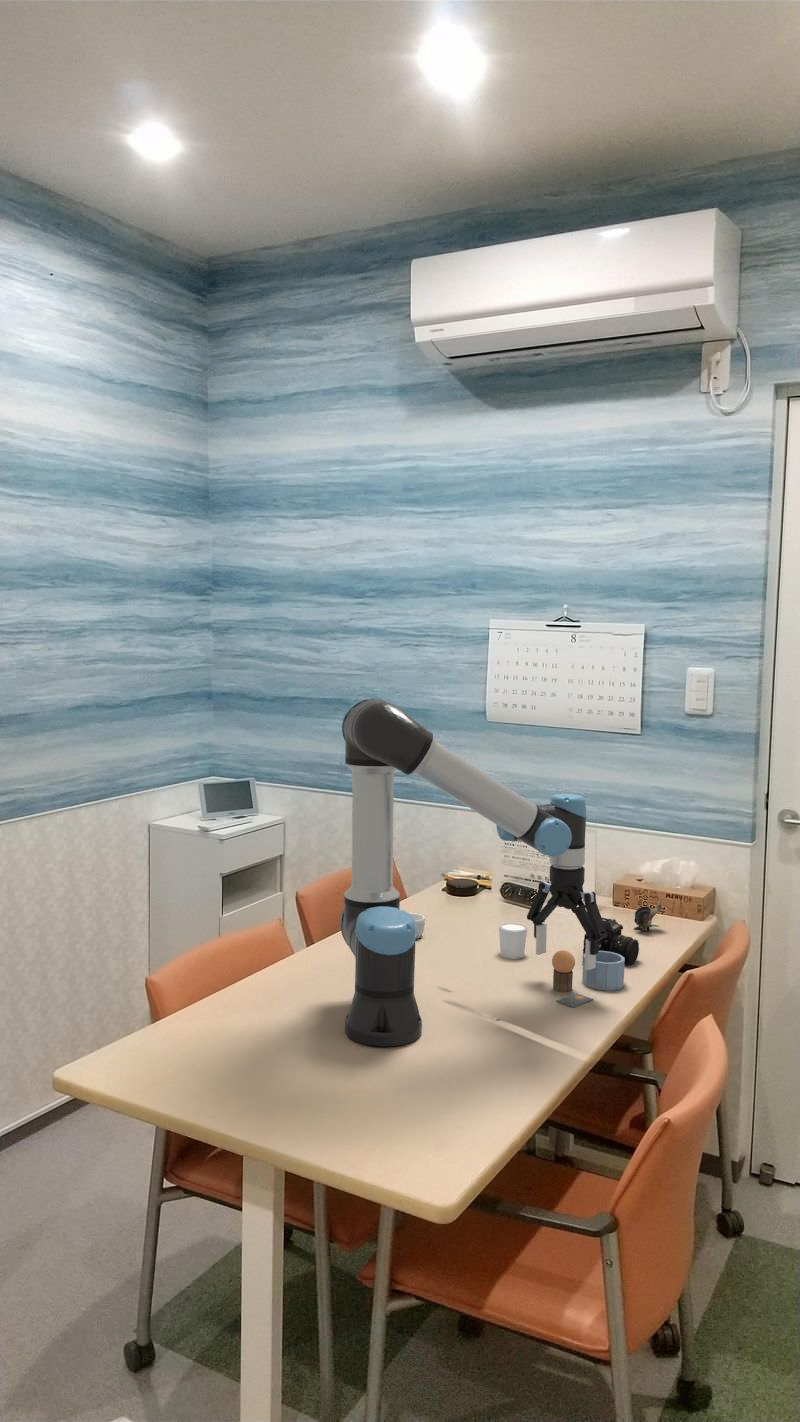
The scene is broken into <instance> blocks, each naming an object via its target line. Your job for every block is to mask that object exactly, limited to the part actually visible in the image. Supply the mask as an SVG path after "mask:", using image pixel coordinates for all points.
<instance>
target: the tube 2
mask: <svg viewBox="0 0 800 1422" xmlns="http://www.w3.org/2000/svg"><path fill="white" fill-rule="evenodd" d="M582 963H583V965H582V976H581V977H582V984H583V985H585V986H586V987H588V988H590V989H593V990H600V991H617V990H621V989H622V988H624V985H625V958H624V957H623V956H621V955H620V954H616V953H613V952H607V951H599V952H598V954H596V968H593V969H590V970H585V953H584V956H583V955H582Z"/></svg>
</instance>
